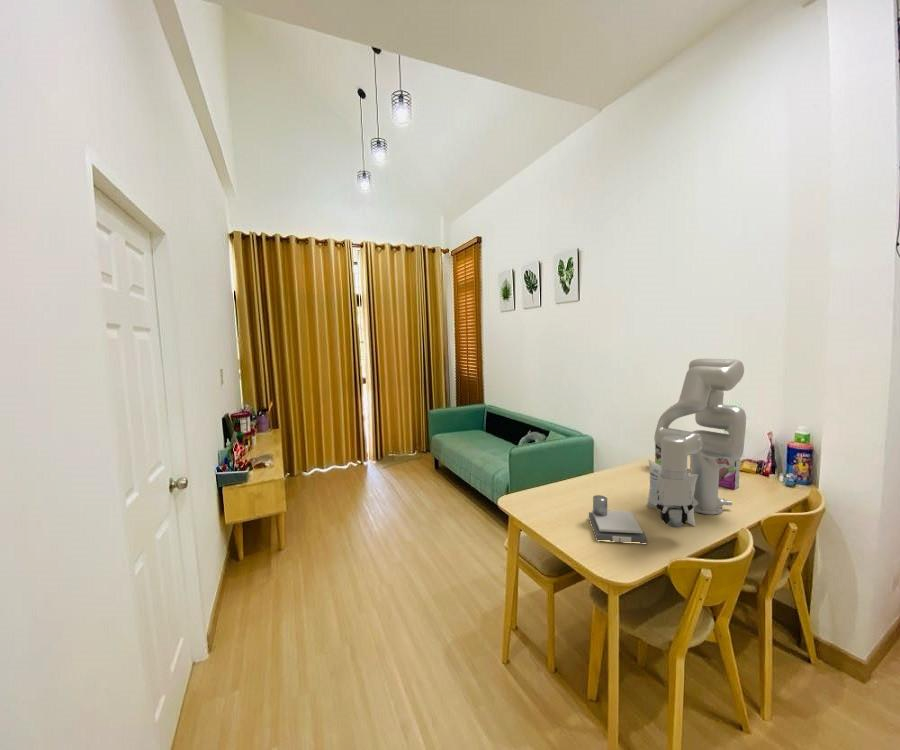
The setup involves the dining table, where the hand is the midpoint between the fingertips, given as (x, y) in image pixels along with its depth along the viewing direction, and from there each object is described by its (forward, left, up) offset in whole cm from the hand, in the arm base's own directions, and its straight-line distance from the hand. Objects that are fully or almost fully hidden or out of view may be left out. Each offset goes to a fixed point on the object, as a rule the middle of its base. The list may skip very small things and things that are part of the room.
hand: (673, 521), depth 127 cm
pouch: (-5, -17, -7) cm, 19 cm away
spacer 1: (+22, -8, -2) cm, 24 cm away
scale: (+18, -4, -7) cm, 19 cm away
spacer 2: (0, 0, -1) cm, 1 cm away
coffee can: (-20, -63, -7) cm, 66 cm away
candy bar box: (-38, -48, -7) cm, 62 cm away
